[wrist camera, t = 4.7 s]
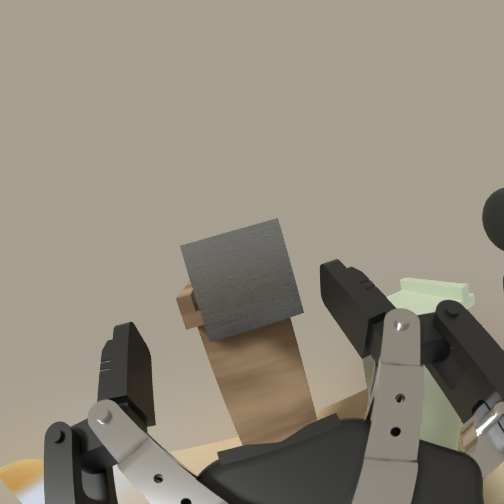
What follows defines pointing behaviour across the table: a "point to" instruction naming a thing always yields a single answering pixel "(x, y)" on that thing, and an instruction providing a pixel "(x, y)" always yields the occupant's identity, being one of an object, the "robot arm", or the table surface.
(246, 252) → the grey block
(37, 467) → the table surface
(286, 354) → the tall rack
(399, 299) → the pale green pedestal
